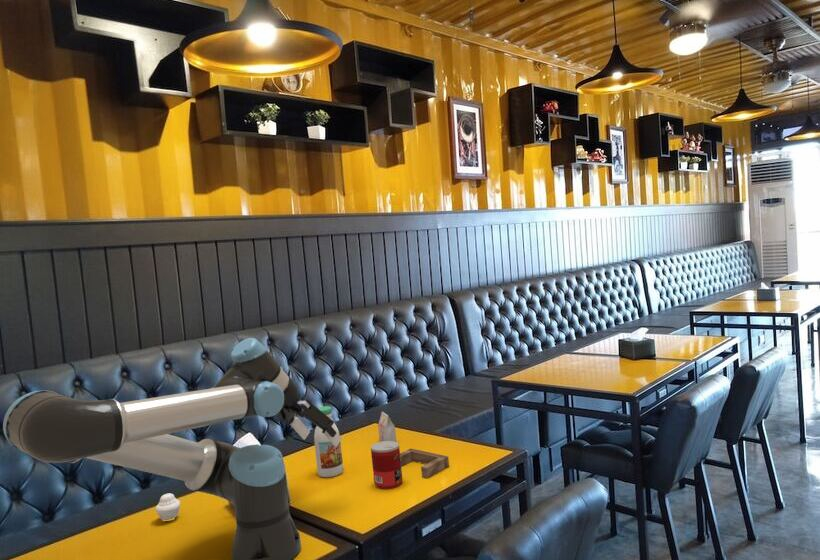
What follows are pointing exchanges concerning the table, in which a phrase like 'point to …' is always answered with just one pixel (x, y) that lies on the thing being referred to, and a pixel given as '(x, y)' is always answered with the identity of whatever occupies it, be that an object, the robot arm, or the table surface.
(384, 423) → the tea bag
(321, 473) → the milk bottle
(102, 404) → the robot arm
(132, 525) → the table surface
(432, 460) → the wooden u-shaped frame
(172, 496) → the muffin
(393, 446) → the canned food
